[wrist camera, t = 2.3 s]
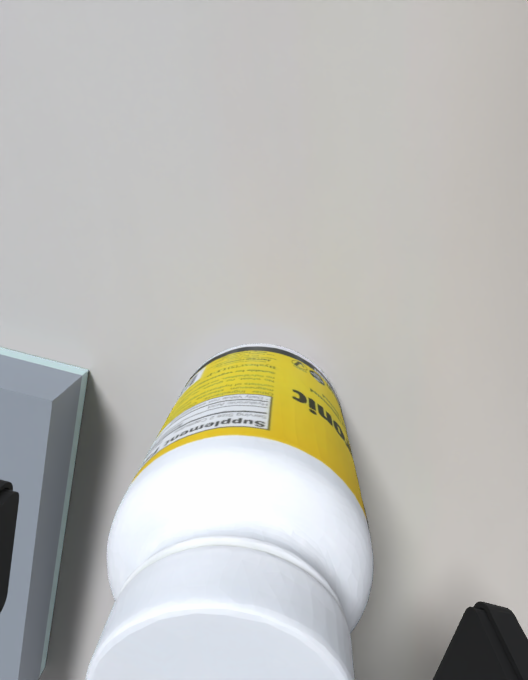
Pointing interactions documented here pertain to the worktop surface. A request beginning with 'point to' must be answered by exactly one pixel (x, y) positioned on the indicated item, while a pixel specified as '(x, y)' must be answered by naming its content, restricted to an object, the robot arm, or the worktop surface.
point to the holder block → (36, 497)
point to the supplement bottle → (241, 533)
